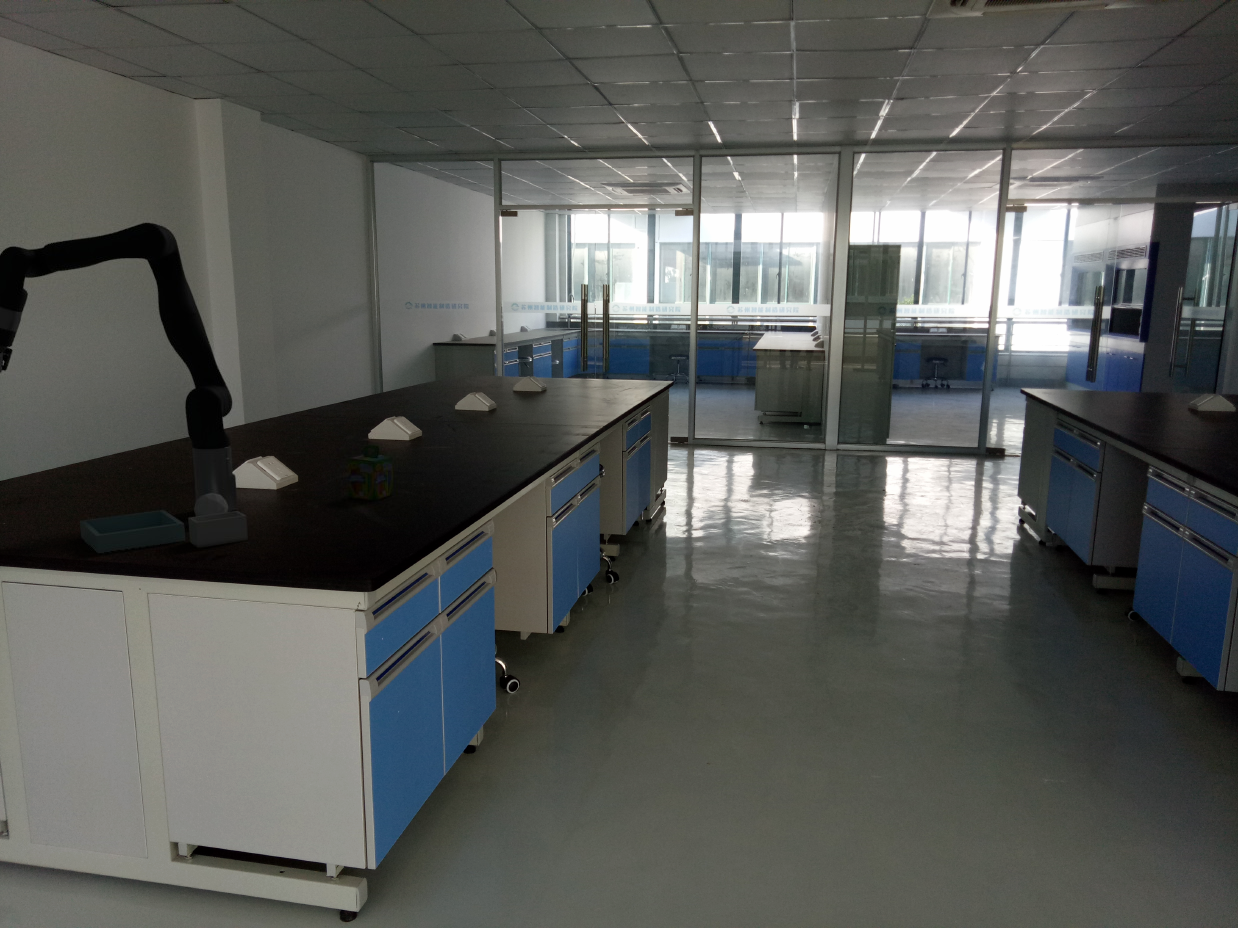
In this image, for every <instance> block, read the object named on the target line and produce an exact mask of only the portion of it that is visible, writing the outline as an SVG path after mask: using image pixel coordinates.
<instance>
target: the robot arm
mask: <svg viewBox="0 0 1238 928" xmlns="http://www.w3.org/2000/svg"><path fill="white" fill-rule="evenodd" d="M120 259H121V260H123V259H125V260H126V259H142V260H146V261H147V263H148V264H149V268H150V270H151V272H152V274H153V276H154V279H155V283H156V288H157V303H158V304H157V305H158V313H159V314H158V315H159V319H160V322H161V324H162V326H163V330H164V332H165V335H166V338H167V340H168V342H169V343H170V345H171V347H172V348H173V350H174V351H175V353H176V354H177V355H178V357H180V360H182V362H183V363H184V364H185V366H186V367H187V369H188V371H189V373H190V375H191V377H192V381H193V384H194V388H193V389H192V390H191V391H189V392H188V393H187V396H186V398H185V403H184V405H185V406H184V407H185V418H186V426H187V428H186V429H187V434H188V437H189V439H190V441H191V444H192V445H191V447H192V449H191V450H192V458H193V459H192V460H193V461H192V462H193V473H194V474H193V475H194V487H195V489H194V490H195V501H196V500H197V499H199V498H200V497H201V496H202V495H206V494H209V493H214V494H218V495H221V496H222V497H223V498H224V499H225V500H226V502H227V505H228V511H227V512H233V511H238V496H237V480H236V479H237V477H236V474H234V473H233V459H232V457H233V456H232V444H231V443H232V441H231V437H230V435H229V434H228V433H227V431H226V430H225V427H224V420H223V419H224V418H225V417H227V416H228V415H229V414H230V412H231V411H232V409H233V397H232V394H231V391H230V390H229V387H228V386H227V383H226V382H225V380H224V377H223V375H222V373H221V371H220V369H219V368H220V367H218V364H217V361H216V358H215V355H214V353H213V348H212V346H211V343H210V341H209V338H208V334H207V331H206V327H205V325H204V322H203V319H202V317H201V314H200V312H199V308H198V306H197V303H196V300H195V298H194V295H193V291H192V289H191V288H190V285H189V282H188V280H187V277H186V274H185V271H184V267H183V266H184V265H183V262H182V258H181V254H180V251H179V246H178V241H177V239H176V237H175V235H174V233H172V231H171V230H170V229H168V228H167V227H165V226H163V225H161V224H157V223H154V222H142V223H138V224H135V225H134V226H130V227H126V228H124V229H120V230H118V231H115V232H111V233H110V232H109V233H105V234H101V235H98V236H97V235H96V236H91V237H83V238H76V239H68V240H62V241H56V242H55V241H54V242H49V243H47V244H45V245H44V246H43V247H39V248H31V249H28V248H24V247H20V246H14V245H12V246H9V247H6V248H4V249H3V250H2V251H1V253H0V374H1V373H2V372H3V371H4V372H6V371H7V370H8V366H9V363H10V360H11V357H12V353H13V349H12V348H10V347H12V346H13V344H14V340H15V338H16V335H17V333H18V329H19V327H20V325H21V321H22V315H23V312H24V309H25V306H26V303H27V300H28V296H29V293H28V291H27V290H26V289H25V288H24V286H25V280H26V278H27V279H32V278H33V279H34V278H42V277H45V276H47V275H51V274H54V273H57V272H65V271H72V270H76V269H83V268H88V267H92V266H95V265H98V264H100V263H104V262H108V261H113V260H120Z"/></svg>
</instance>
